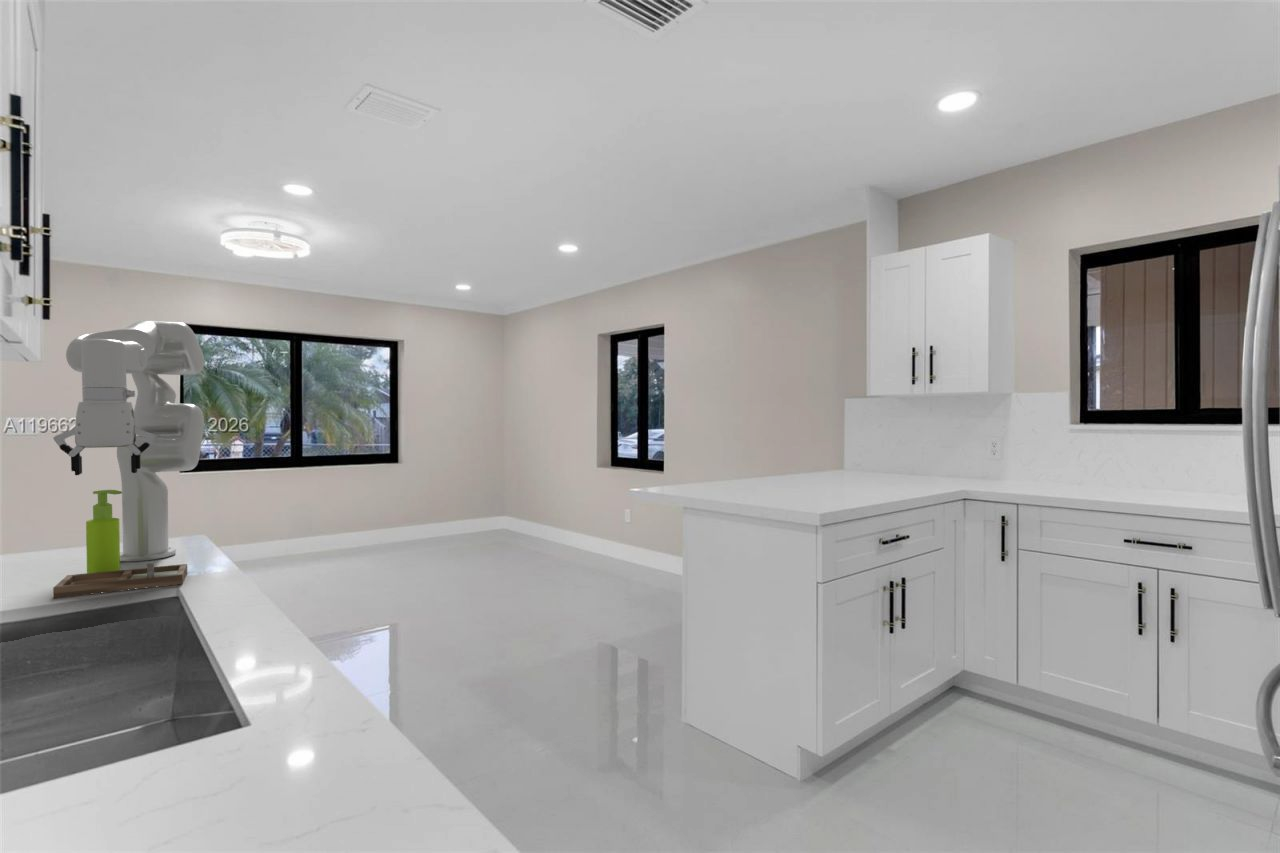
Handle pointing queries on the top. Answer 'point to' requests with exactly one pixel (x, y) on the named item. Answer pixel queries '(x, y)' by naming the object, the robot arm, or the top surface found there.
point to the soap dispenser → (103, 536)
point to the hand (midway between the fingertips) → (106, 473)
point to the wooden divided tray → (120, 580)
